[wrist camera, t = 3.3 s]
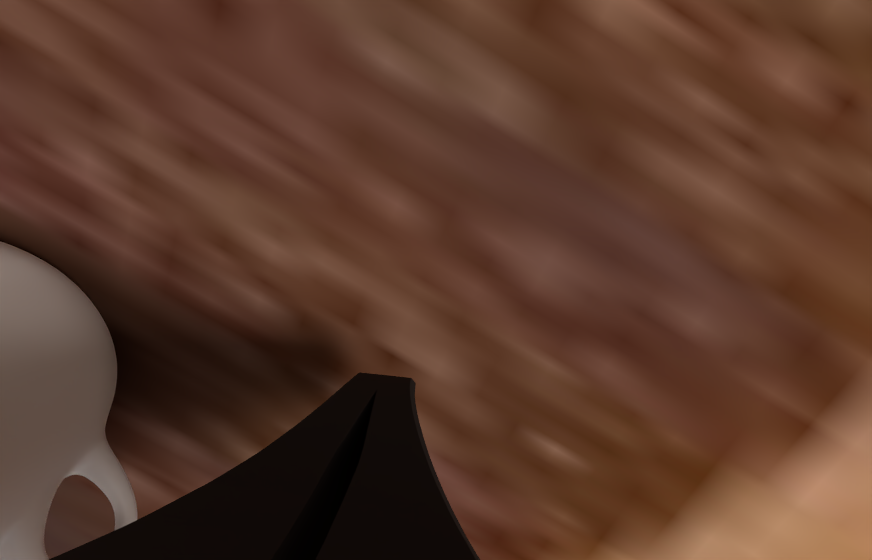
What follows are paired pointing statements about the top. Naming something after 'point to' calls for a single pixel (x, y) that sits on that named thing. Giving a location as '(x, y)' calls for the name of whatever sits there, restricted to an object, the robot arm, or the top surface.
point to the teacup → (51, 400)
